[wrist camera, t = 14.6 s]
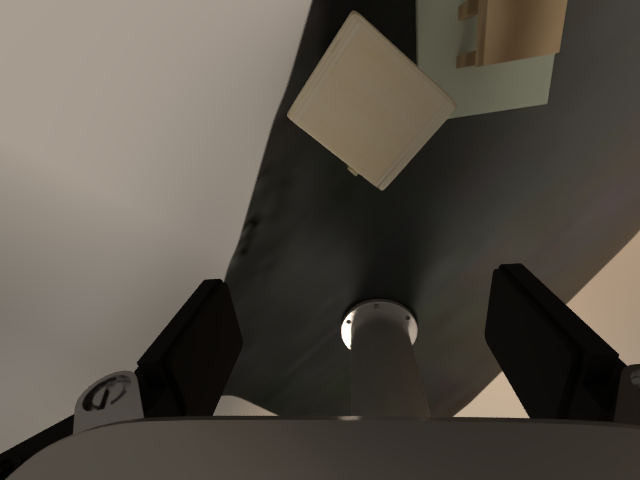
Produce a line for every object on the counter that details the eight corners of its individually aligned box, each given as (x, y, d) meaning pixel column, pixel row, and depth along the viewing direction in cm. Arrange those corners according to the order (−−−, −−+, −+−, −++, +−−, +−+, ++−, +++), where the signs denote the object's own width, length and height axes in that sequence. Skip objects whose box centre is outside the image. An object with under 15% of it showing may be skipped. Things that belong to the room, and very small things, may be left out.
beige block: (312, 107, 37) (278, 125, 18) (350, 50, 34) (355, 2, 15) (362, 148, 39) (378, 202, 20) (403, 97, 36) (465, 104, 17)
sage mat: (542, 103, 35) (547, 103, 34) (417, 122, 37) (419, 123, 36) (569, -83, 28) (576, -89, 27) (414, -48, 30) (416, -52, 29)
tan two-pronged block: (519, -9, 30) (573, -39, 23) (512, 60, 33) (559, 52, 25) (456, 4, 31) (489, -22, 24) (454, 71, 33) (483, 65, 26)
